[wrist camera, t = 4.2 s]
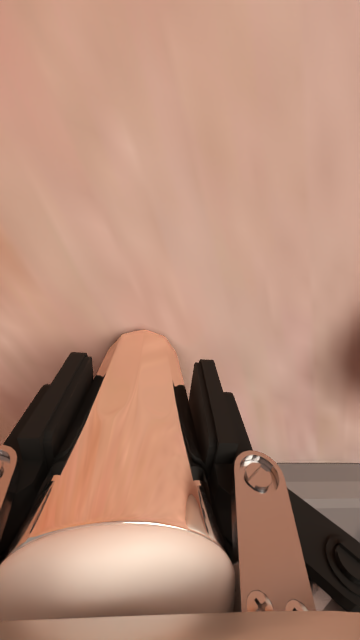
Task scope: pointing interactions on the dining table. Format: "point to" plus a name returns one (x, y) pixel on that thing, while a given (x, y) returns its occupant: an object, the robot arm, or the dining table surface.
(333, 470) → the grey tray
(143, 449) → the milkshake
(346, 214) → the dining table surface
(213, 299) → the dining table surface
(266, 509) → the robot arm
